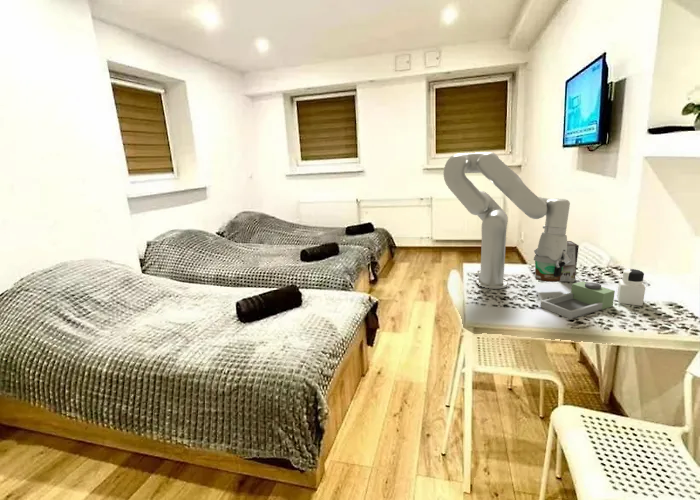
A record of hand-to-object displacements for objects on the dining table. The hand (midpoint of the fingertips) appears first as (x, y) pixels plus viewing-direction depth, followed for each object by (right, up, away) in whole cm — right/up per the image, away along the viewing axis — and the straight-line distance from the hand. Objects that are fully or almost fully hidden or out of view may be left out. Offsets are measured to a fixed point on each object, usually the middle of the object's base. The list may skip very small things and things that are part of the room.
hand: (549, 273), depth 152 cm
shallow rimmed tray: (+2, -11, -15) cm, 19 cm away
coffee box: (+14, -3, +14) cm, 20 cm away
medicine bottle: (+23, -10, -13) cm, 28 cm away
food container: (0, -3, 0) cm, 3 cm away
